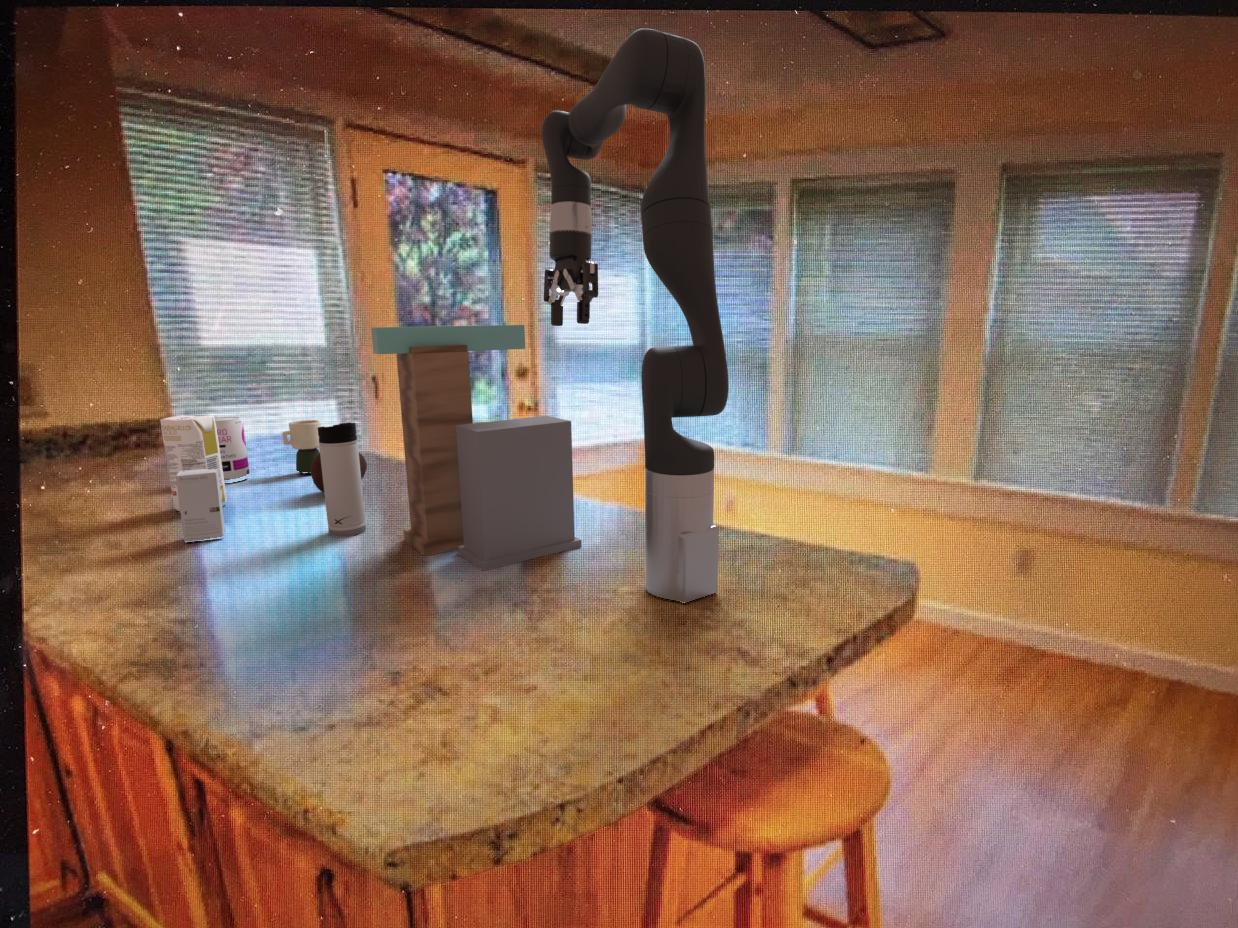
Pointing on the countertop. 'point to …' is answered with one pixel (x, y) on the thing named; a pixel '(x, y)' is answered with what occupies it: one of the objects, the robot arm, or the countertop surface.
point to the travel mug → (342, 479)
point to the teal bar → (448, 337)
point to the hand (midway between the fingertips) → (569, 324)
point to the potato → (317, 471)
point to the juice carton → (191, 448)
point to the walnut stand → (434, 442)
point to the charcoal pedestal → (516, 490)
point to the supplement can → (232, 447)
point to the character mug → (303, 442)
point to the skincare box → (200, 504)
